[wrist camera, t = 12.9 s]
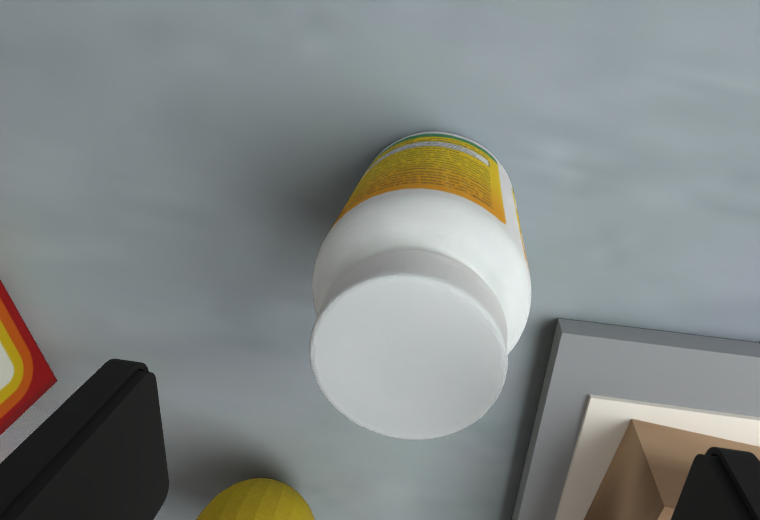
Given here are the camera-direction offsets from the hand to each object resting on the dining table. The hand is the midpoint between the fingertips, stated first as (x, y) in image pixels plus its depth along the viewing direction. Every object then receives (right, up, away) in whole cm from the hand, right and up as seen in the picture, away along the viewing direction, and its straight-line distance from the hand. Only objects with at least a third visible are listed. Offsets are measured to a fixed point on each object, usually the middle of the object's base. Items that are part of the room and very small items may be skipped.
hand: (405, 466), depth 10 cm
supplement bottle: (+2, +6, +10) cm, 12 cm away
